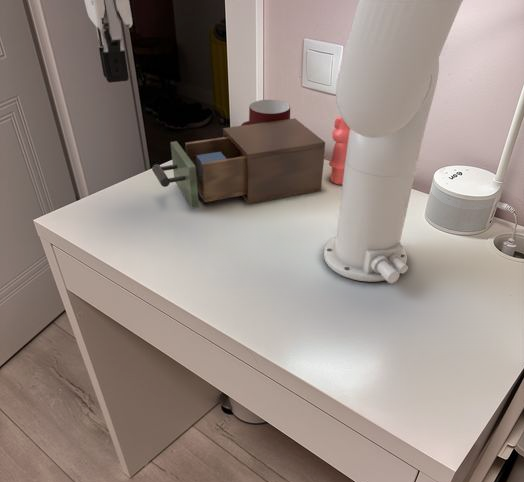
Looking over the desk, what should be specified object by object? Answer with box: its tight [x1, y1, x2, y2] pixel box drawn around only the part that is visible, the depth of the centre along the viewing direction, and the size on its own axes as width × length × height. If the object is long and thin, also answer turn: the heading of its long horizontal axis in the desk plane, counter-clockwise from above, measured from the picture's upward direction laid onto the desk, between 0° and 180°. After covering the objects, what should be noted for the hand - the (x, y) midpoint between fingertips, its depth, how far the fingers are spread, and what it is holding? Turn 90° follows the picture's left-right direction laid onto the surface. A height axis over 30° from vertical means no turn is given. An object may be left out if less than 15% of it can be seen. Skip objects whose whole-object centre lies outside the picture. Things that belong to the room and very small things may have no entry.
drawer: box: [151, 136, 247, 209], centre depth 95 cm, size 18×11×7 cm, turn 113°
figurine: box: [328, 116, 350, 186], centre depth 98 cm, size 5×5×15 cm
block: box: [196, 152, 226, 185], centre depth 96 cm, size 5×5×5 cm
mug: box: [240, 99, 291, 126], centre depth 107 cm, size 11×8×10 cm
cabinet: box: [222, 117, 326, 205], centre depth 99 cm, size 15×13×9 cm
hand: (116, 77), depth 80 cm, fingers closed
